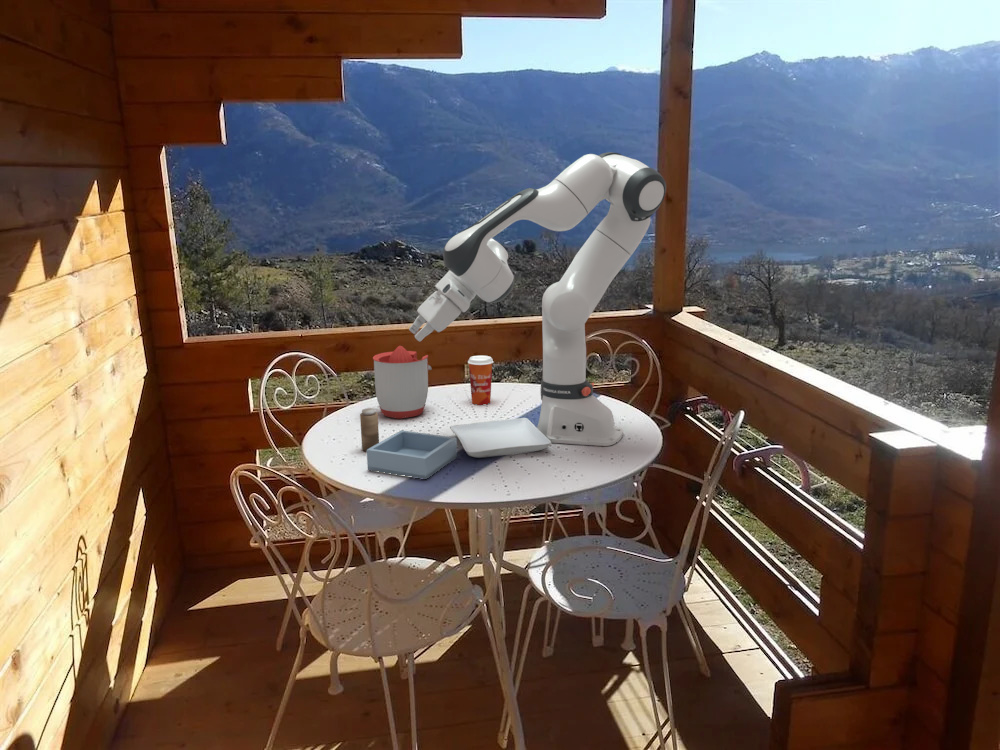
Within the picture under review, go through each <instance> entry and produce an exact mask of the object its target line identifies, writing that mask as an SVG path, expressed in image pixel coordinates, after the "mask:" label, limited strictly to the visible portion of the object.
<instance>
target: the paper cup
mask: <svg viewBox="0 0 1000 750" xmlns="http://www.w3.org/2000/svg"><path fill="white" fill-rule="evenodd" d="M467 363H468V369H469V372H468V373H469V382H470V385H469V386H470V394H471V395H470V396H471V397H470V398H471V403H472V404H473V405H475V404H477V405H476V406H484V405H483V404H486V405H489V404H491V395H492V377H493V375H492V373H493V363H495V362H494V361H493V358H492V357H491V356H488V355H473V356H470V357H469V359H468V360H467ZM488 403H489V404H488Z"/></svg>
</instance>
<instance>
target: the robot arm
mask: <svg viewBox="0 0 1000 750" xmlns="http://www.w3.org/2000/svg"><path fill="white" fill-rule="evenodd" d="M666 192H667V183H666V180H665V179H664V177H663V176H662V174H661V173H660V172H658V171H657V169H654V168H653V167H649V166H648V165H646V164H645V163H643V162H641V160H637V159H635V158H630V157H628V156H625V155H622V154H621V153H618V152H613V151H611V152H609V151H607V152H602V153H601V154H598V155H597V154H594V153H589V154H588V153H587V154H584V155H582V156H581V157H579V158H578V159H576V160H575V161H573V162H572V164H570V165H568V166H567V167H566V168H565V169H564V170H562V171H561V172H560V174H558V175H557V176H556V177H554V179H552V181H551V182H550V183H548V184H547V185H545V186H543V187H540V188H537V189H535V188H532V187H529V188H528V187H527V188H525V189H523V190H520V191H519V192H517V193H516V194H514V195H513V196H511V197H510V198H508V199H506V200H505V201H504V202H502V203H501V204H499V205H498V206H497V207H495V208H494V209H493V210H491V211H490V212H488V213H487V214H486V215H484V216H483V217H481V218H480V219H479V220H477V221H476V222H474V223H473V224H472V225H470V226H468V227H467V228H465V229H463V230H461V231H460V232H457V233H456V234H455V235H453V236H452V237H451V238H450V239H448V240H447V242H446V243H445V245H444V247H443V254H442V255H443V263H444V264H443V265H444V267H445V268H446V269H448V271H447V272H446V273H445V275H444V276H443V277H442V278H441V279H440V280H439V281H438V282H436V284H435V285H434V287H435V288H436V289H437V290H436V291H434V292H433V293H431V295H430V296H428V297H427V299H425V301H423V302H422V303H421V305H420V306H418V307H417V311H416V312H417V313H418V316H417V317H416V318H415V320H414V322H413V323H412V324H411V325H410V327H409V328H408V330H409V331H410V333H412V334H413V335H414V338H415V340H416V341H418V342H422V341H423V339H425V337H427V336H429V335H430V334H431V333H433V332H434V331H436V332H437V333H440V332H443V331H444V330H446V328H447V327H449V326H450V325H451V324H452V323H453V322H454V321H455V320H456V319H458V317H459V316H460V315H461V313H465V312H467V311H468V309H469V308H470V306H471V302H472V300H474V299H475V297H476V296H477V297H479V298H480V299H481V300H482V301H484V302H486V303H488V304H494V303H495V304H496V303H500V302H501V301H503V300H505V299H506V298H507V296H508V295H510V293H511V292H512V290H513V288H514V284H515V275H514V274H513V272H512V270H511V268H510V267H509V264H508V259H509V252H508V251H507V249H506V248H505V247H504V246H503V245H502V244H501V243H500V242H499V241H497V240H496V239H494V237H496V236H497V235H498V234H500V233H501V232H503V231H504V230H505V229H506V228H508V227H509V226H511V225H512V224H514V223H516V222H518V221H522V220H526V221H530V222H532V223H535V224H537V225H538V226H541V227H543V228H546V229H548V230H550V231H554V232H566V231H569V230H572V229H574V228H575V227H576V226H578V224H579V223H581V222H582V221H583V220H584V219H585V218H586V217H587V216H588V215H589V214H590V213H591V211H592V210H594V209H595V207H596V206H597V205H598V204H599V203H600V202H601V201H604V200H606V201H607V202H608V203H610V204H609V205H610V206H609V210H608V212H607V214H606V216H604V217H603V219H602V220H601V221H600V222H599V224H598V225H596V228H595V229H594V230H593V231H592V233H591V234H590V235H589V237H588V238H587V239H586V241H585V242H584V244H583V245H582V246H581V248H580V249H579V250H578V252H577V253H576V254H575V256H574V258H573V259H572V261H571V263H570V264H569V266H568V267H567V269H566V271H565V272H564V273H563V276H562V277H561V278H560V280H559V281H557V282H554V283H552V284H550V285H549V286H548V288H546V290H545V291H544V293H543V295H542V299H541V313H542V315H541V318H542V320H541V323H542V379H541V380H540V381H541V382H540V400H541V407H540V412H539V413H540V414H539V419H538V422H537V426H536V428H537V429H538V430H539V431H540V432H541V433H543V434H544V435H545V436H546V437H547V438H548V439H549V440H550V441H551V444H567V445H568V444H569V445H581V446H582V445H583V446H588V445H589V446H599V447H601V446H603V447H608V446H612V445H615V444H617V443H619V441H620V440H621V439H622V438H623V436H624V434H623V433H624V430H623V429H622V428H621V427H620V426H616V425H615V419H614V414H613V411H612V410H611V409H610V408H609V407H608V406H607V405H605V404H604V403H603V402H602V401H601V400H599V398H597V397H596V396H595V395H593V394H594V391H593V390H594V386H595V385H594V384H595V382H592V383H590V382H589V381H588V380H587V379H586V375H587V373H586V372H587V370H586V369H587V368H586V367H587V345H586V330H585V329H586V327H585V326H586V325H585V324H586V323H587V321H588V319H589V318H590V316H591V315H592V313H593V312H594V311H595V309H596V308H597V305H598V304H599V303H600V301H601V299H602V298H603V296H604V294H605V293H606V291H607V289H608V288H609V287H610V284H611V283H612V281H613V280H614V279H615V277H616V276H617V275H618V273H619V272H620V271H621V269H622V268H623V267H624V266H625V264H626V263H627V262H628V260H629V259H630V258H631V256H633V254H634V252H635V251H636V250H637V248H638V246H639V245H640V244H641V242H642V240H643V238H645V237H644V236H645V235H646V233H647V232H648V229H649V227H650V225H651V216H653V215H654V214H655V213H656V211H658V209H659V208H660V206H661V205H662V203H663V201H664V199H665V197H666ZM422 326H423V327H422ZM421 327H422V328H421ZM420 328H421V329H420ZM622 435H623V436H622ZM621 437H622V438H621ZM616 442H617V443H616Z"/></svg>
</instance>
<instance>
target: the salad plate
mask: <svg viewBox="0 0 1000 750" xmlns="http://www.w3.org/2000/svg"><path fill="white" fill-rule="evenodd" d="M449 428H450V430H451V432H452V433H453V434H454V435H455V436H456V438H457V439H458V440H459V442H460V444H461V446H462V448H463V450H464V451H465V452H466V454H467V455H468V456H469V457H473V458H491V457H501V456H508V455H509V456H511V455H517V454H526V453H527V454H528V453H529V454H530V453H533V452H539V451H542V450H545V449H548V447H550V446H552V443H551V441H550V440H549V439H548V438H547V437H546V436H545V435H544V434H543V433H541V432H540V431H539V430H538V429H537V426H536V425H535V424H534V423H533V422H531V421H530V420H529V419H528V418H527V417H521V418H518V417H517V418H509V419H498V420H488V421H479V422H472V423H470V422H469V423H463V424H462V423H461V424H454V425H450V426H449Z"/></svg>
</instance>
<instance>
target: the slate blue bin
mask: <svg viewBox="0 0 1000 750" xmlns="http://www.w3.org/2000/svg"><path fill="white" fill-rule="evenodd" d="M457 439H458V437H453V436H448V435H447V436H446V435H439V434H432V433H425V432H419V431H409V430H405V429H401V430H399V431H398V432H396V433H394V434H393V435H391V436H388V437H387V438H385V439H383V440H382V441H379V443H378V444H376V445H374V446H372V447H371V448H369V449H367V452H366V460H367V461H366V464H367V471H368V470H372V471H371V472H373V471H379V472H385V473H391V474H397V475H405V476H412V477H418V478H423V479H427V478H429V477H430V476H431V477H433V476H434V475H435V474H436V472H437V471H438V472H440V471H441V470H442V469H444V468H445V467H446V466H448V465H449V464H451V463H452V462H453V461H454V459H455V460H456V459H457V458H458V448H457V446H458V445H457V443H458V442H457ZM452 460H453V461H452ZM451 461H452V462H451ZM448 463H449V464H448ZM447 464H448V465H447ZM445 465H446V466H445ZM444 466H445V467H444ZM443 467H444V468H443ZM441 468H442V469H441ZM440 469H441V470H440ZM379 472H378V473H379ZM438 472H437V473H438ZM385 473H384V474H385ZM434 473H435V474H434ZM391 474H390V475H391ZM433 474H434V475H433ZM397 475H396V476H397ZM432 475H433V476H432ZM431 477H430V478H431ZM430 478H429V479H430ZM427 480H428V479H427Z"/></svg>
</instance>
